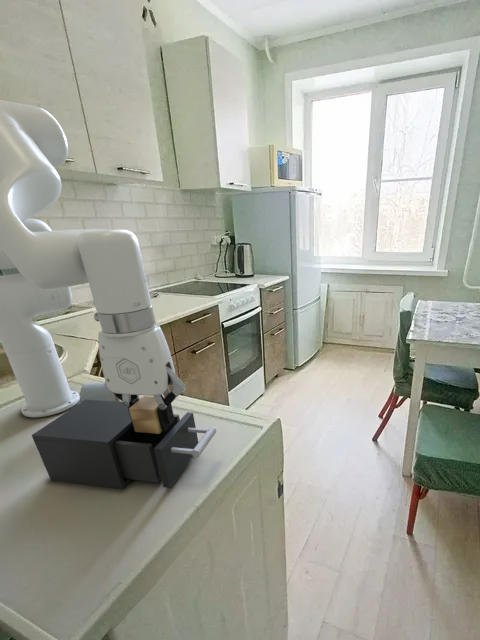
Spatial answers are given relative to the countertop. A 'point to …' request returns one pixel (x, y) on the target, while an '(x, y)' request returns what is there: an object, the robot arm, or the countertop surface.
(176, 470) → the basket
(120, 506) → the countertop surface
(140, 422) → the block
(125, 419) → the box
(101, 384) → the ceramic mug
